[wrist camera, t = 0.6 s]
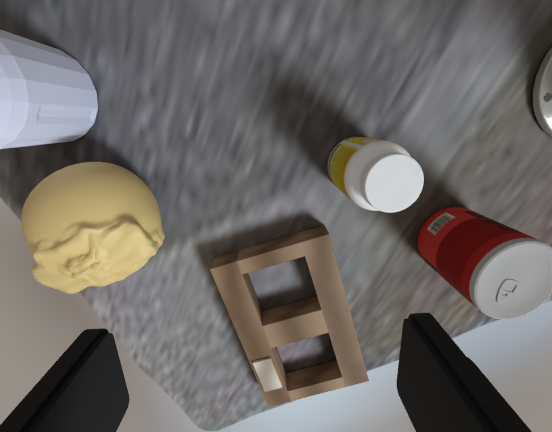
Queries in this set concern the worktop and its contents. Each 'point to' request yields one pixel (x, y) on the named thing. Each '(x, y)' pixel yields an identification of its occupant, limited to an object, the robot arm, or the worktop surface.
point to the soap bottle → (42, 94)
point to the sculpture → (90, 226)
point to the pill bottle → (375, 174)
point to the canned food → (487, 262)
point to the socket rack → (291, 317)
